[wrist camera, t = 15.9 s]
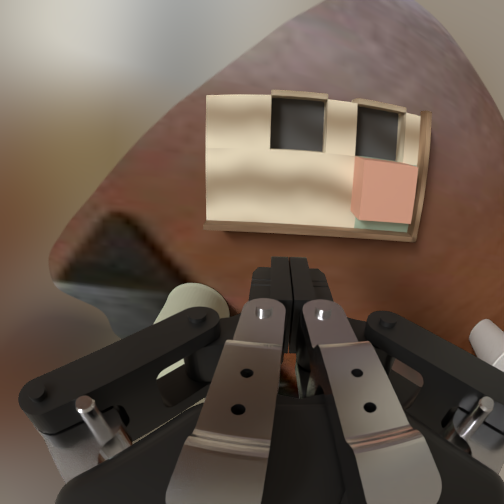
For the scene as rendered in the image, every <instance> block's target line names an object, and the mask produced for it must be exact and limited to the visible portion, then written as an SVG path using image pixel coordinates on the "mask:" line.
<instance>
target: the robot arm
mask: <svg viewBox="0 0 504 504" xmlns="http://www.w3.org/2000/svg"><path fill="white" fill-rule="evenodd" d="M288 343H289V353H296V365H295V372H296V378H297V384H298V390H299V397H300V399H297V398H292V397H287V396H282V395H278V387H279V378H280V369H281V364H282V362H283V357H284V353H288ZM182 359H184V364H183V365H181V366H180V367H178V368H176V369H174V370H173V371H171V372H169V373H167V374H166V375H164V376H162V377H160V378H158V379H157V377H158V375H159V374H160V373H161V372H162V371H163V370H164V369H166V368H168V367H169V366H171V365H173V364H175V363H177V362H178V361H180V360H182ZM204 397H206V399H205V402H204V403H201V404H198V405H196V406H193V407H191V408H189V407H190V406H192V405H194V404H195V403H197V402H198V401H199V400H201V399H203V398H204ZM18 400H19V405H20V407H21V409H22V410H23V411H24V413H25V414H26V415H27V416H28V418H29V419H30V420H31V422H32V423H33V425H34V427H35V428H36V429H37V431H38V432H39V433H40V434H41V435H42V437H43V438H44V439H45V442H46V444H47V447H48V449H49V451H50V454H51V456H52V458H53V460H54V462H55V464H56V466H57V468H58V470H59V472H60V474H61V476H62V478H63V480H64V482H65V485H64V487H63V488H62V489H61V491H60V492H59V494H58V496H57V499H56V502H55V504H504V482H503V480H502V479H501V477H500V476H499V475H498V474H499V472H500V470H501V468H502V465H503V463H504V372H503V371H501V370H499V369H498V368H496V367H494V366H492V365H490V364H488V363H487V362H485V361H483V360H481V359H479V358H477V357H476V356H474V355H472V354H470V353H468V352H466V351H465V350H463V349H461V348H459V347H457V346H455V345H454V344H452V343H450V342H448V341H446V340H444V339H442V338H441V337H439V336H437V335H435V334H433V333H431V332H429V331H428V330H426V329H424V328H422V327H420V326H418V325H416V324H414V323H413V322H411V321H409V320H407V319H405V318H403V317H401V316H399V315H397V314H395V313H393V312H389V311H376V312H373V313H371V314H370V315H369V316H368V319H367V322H365V321H360V320H355V319H351V318H348V317H346V315H345V312H344V310H343V309H342V307H341V306H340V305H338V304H337V303H335V302H334V301H333V298H332V295H331V292H330V289H329V287H328V283H327V280H326V277H325V274H324V273H322V272H321V271H320V270H319V269H309V266H308V262H307V258H305V257H289V260H288V257H271V268H268V267H258V268H257V269H256V270H255V271H254V272H253V276H252V282H251V288H250V295H249V301H248V302H247V303H246V304H245V305H244V307H243V309H242V312H241V313H240V314H238V315H236V316H232V317H226V318H220V317H219V314H218V313H217V312H216V311H215V310H214V309H212V308H209V307H202V306H197V307H191V308H187V309H185V310H183V311H181V312H179V313H177V314H174V315H172V316H170V317H168V318H166V319H164V320H162V321H160V322H158V323H156V324H153V325H151V326H149V327H147V328H145V329H143V330H141V331H139V332H136V333H134V334H132V335H130V336H128V337H126V338H124V339H121V340H120V341H117V342H115V343H113V344H111V345H109V346H106V347H104V348H102V349H100V350H98V351H95V352H93V353H91V354H89V355H87V356H84V357H82V358H80V359H78V360H76V361H73V362H71V363H69V364H67V365H65V366H62V367H60V368H58V369H55V370H53V371H51V372H49V373H46V374H44V375H42V376H40V377H37V378H35V379H33V380H31V381H29V382H28V383H26V385H24V387H23V388H22V389H21V391H20V393H19V398H18ZM187 408H189V409H187ZM186 409H187V410H186ZM184 410H185V411H184ZM183 411H184V412H183ZM181 412H182V413H181ZM180 413H181V414H180ZM178 414H179V415H178ZM176 415H178V416H176ZM175 416H176V417H175ZM173 417H175V418H173ZM172 418H173V419H172ZM170 419H172V420H170ZM168 420H170V421H169V422H167V421H168ZM165 422H167V423H166V424H165V425H163V426H161V427H160V428H158V429H157V430H155V431H154V432H152V433H150V434H149V435H147V436H146V437H144V438H143V439H141V440H139V441H138V442H136V443H134V444H133V445H132V442H133V441H135V440H136V439H138V438H140V437H142V436H143V435H145V434H147V433H149V432H150V431H152V430H154V429H155V428H157V427H159V426H160V425H162V424H163V423H165Z"/></svg>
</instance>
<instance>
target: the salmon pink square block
mask: <svg viewBox="0 0 504 504" xmlns="http://www.w3.org/2000/svg"><path fill="white" fill-rule="evenodd" d="M417 176H418V167H416V166H413V165H410V164H406V163H401V162H395V161H387V160H380V159H372V158H364V157H355V161H354V176H353V188H352V199H351V209H350V211H351V212H352V213H353V214H354V215H355V217H356V218H357V219H358V220H365V221H379V222H393V223H405V224H411V220H412V213H413V207H414V200H415V193H416V184H417Z"/></svg>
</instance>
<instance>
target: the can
mask: <svg viewBox="0 0 504 504" xmlns="http://www.w3.org/2000/svg"><path fill="white" fill-rule="evenodd" d="M197 306H202V307H209V308H212V309H214V310H215V311H216V312H217V313H218V314H219V317H220V318H226V317H230V313H229V308H228V305H227V303H226V301H225V300H224V298H223V297H222V296H221V295H220V294H219V293H218V292H217V291H216V290H214V289H212V288H211V287H208V286H206V285H203V284H199V283H186V284H182V285H180V286H178V287H176V288H175V289H174V290H173V291H172V292H171V293H170V294H169V296H168V299H167V302H166V303H165V305H164V307H163V309H162V310H161V312H160V314H159V316H158V317H157V319H156V321H155V322H154V324H156V323H158V322H160V321H162V320H164V319H166V318H168V317H170V316H172V315H174V314H177V313H179V312H181V311H183V310H185V309H187V308H191V307H197ZM183 364H184V359H182V360H180V361H178V362H177V363H175V364H173V365H171V366H169V367H168V368H166V369H164V370H163V371H162V372H161V373H160V374H159V375H158V377H157V379H158V378H160V377H162V376H164V375H166V374H167V373H169V372H171V371H173V370H174V369H176V368H178V367H180V366H181V365H183Z"/></svg>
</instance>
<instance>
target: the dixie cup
mask: <svg viewBox="0 0 504 504" xmlns="http://www.w3.org/2000/svg"><path fill="white" fill-rule="evenodd" d="M469 341H470V343H471V345H472V347H473V349H474V351H475V353H476V355H477V358H479V359H481V360H483V361H485V362H487V363H488V364H490V365H492V366H494V367H496V368H498V369H499V370H501V371H503V372H504V332H503V331H502V330H501V329H500V328H499V327H497V326H496V325H495V324H494V323H493V322H492V321H490V320H489V319H484V320H482V321H480V322H479V323H478V324H477V325H476V326H475V327H474V328H473V330H472V331H471V333H470V336H469Z"/></svg>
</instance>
